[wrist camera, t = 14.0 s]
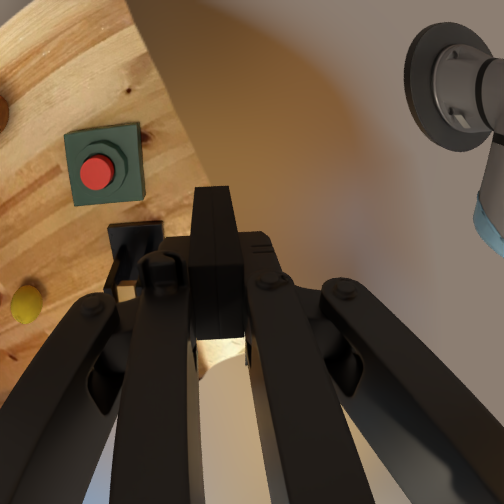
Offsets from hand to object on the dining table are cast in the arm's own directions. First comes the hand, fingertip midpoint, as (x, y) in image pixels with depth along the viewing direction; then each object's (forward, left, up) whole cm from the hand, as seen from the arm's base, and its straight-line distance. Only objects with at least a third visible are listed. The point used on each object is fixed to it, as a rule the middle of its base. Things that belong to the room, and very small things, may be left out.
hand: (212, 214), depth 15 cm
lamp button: (+13, +4, -25) cm, 28 cm away
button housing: (+13, +4, -28) cm, 31 cm away
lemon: (+31, +24, -28) cm, 48 cm away
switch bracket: (+10, +18, -28) cm, 35 cm away
